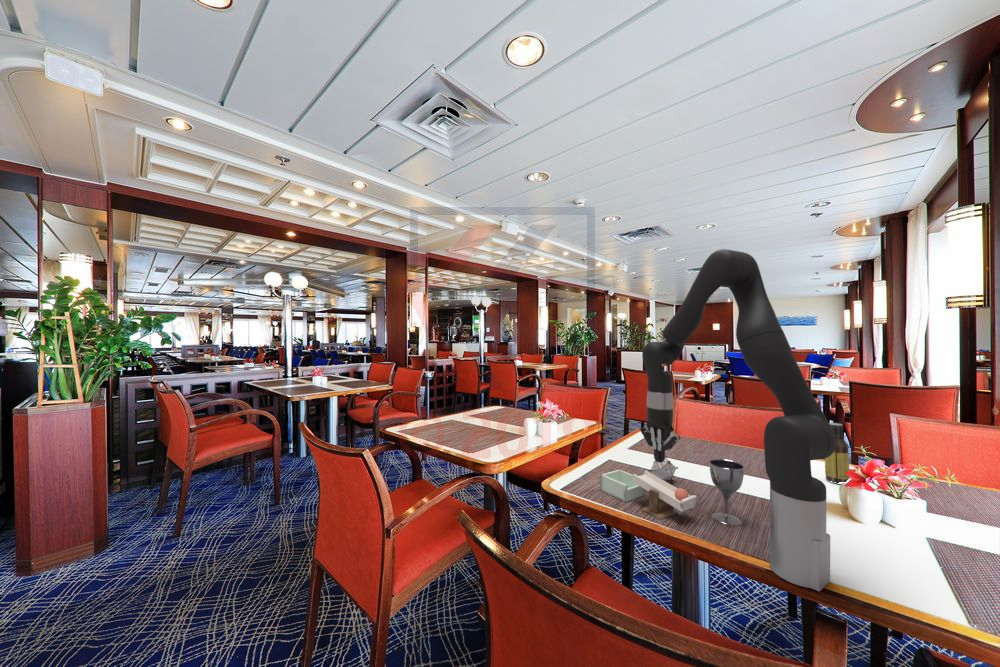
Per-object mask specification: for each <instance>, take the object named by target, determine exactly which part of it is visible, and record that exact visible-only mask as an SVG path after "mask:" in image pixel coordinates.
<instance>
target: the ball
mask: <svg viewBox="0 0 1000 667" xmlns="http://www.w3.org/2000/svg"><path fill="white" fill-rule="evenodd" d="M677 488H678V487H677ZM688 495H689V493H688V492H687V490H686V489H684V488H681V487H680V488H678V489H676V491H675V497H676V499H677V500H679V501H681V500H682V499H685V498H687V497H688Z"/></svg>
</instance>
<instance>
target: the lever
mask: <svg viewBox="0 0 1000 667" xmlns="http://www.w3.org/2000/svg"><path fill="white" fill-rule="evenodd" d="M632 475H633V477H632V482H634V483H636V484H637V485H639V486H641V487H642V488H644V489H645V491H647V492H649V490H650V489H652V490H654V491H657V492H659V498H660V499H662V500H663V501H665V502H666V503H668V504H670V505H671V506H673V507H674V511H675V512H677V513H676V514H679V515H683V514H686V513H687V512H690V511H691V510H692V509H693V508H695V507H696V503H697V497H698V496H697V495H695V494H692V495H690V494H688V497H687V498H685V499H682V500H681V501H679V500H677V499H676V497H675V491H676V489H678V487H676V486H675V485H672V484H670V483H669V482H667V481H669V480H668V479H671V478H672V479H673V478H674V477H673V476H674V475H672V474H670V473H668V472H666V471H665V470H663V469H661V470H657V471H654V472H651V471H650V472H649V470H644V472H643V474H640V475H637V474H636V473H633V474H632ZM674 486H675V487H674Z"/></svg>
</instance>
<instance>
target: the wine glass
mask: <svg viewBox="0 0 1000 667" xmlns="http://www.w3.org/2000/svg"><path fill="white" fill-rule="evenodd" d="M744 470H745V466H744V465H743V464H741V463H740V462H737V461H735V460H731V459H722V458H714V459H710V460H709V473H710V479H711V481H712V483H713V485H714V486H715V488H716V489H717V490H718V491H719V492H720V494H721V495H722V498H723V502H724V512H723V511H722V512H721V511H719V512H718V511H717V512H712V513H711V518H712V519H713V520H714V521H716V522H717V523H721V524H723V525H728V526H740V525H742V524H743V521H742V519H740V517H738V516H736V515H733V514H731V513H729V504H730V503H729V501H730V499H731V497H732V496H733V494H735V493H736V492H738V490H740V489H741V487H742V486H743V480H744V477H745V476H744V475H745V474H744V473H745V471H744Z"/></svg>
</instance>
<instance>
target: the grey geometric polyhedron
mask: <svg viewBox="0 0 1000 667" xmlns="http://www.w3.org/2000/svg"><path fill="white" fill-rule="evenodd" d="M667 458H668V457H667V455H665V460H664V461H663V462H661V463H659V462H656V461H655V460H654V461H653V465H652V466H651V469H649V470H648V472H649V473H651V472H654V471H657V470H661V469H663V470H665V471H666V472H668V473H670V474H672V475H673V478H675V472H676V470H678V469H679V467H678V466H675V465H674V464H673V463H672V462H671V460H669V459H667ZM673 478H671V479H668V480H667V481H671V482H674V480H673Z"/></svg>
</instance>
